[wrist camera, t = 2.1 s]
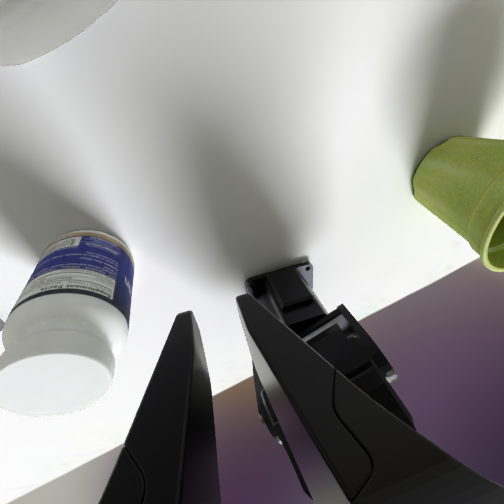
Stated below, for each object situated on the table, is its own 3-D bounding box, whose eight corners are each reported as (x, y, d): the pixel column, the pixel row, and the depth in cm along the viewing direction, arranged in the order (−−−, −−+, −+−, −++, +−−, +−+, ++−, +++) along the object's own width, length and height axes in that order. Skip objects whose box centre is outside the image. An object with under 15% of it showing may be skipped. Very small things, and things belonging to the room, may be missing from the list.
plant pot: (509, 127, 24) (649, 154, 17) (445, 222, 29) (536, 274, 22) (434, 100, 21) (572, 121, 14) (376, 213, 25) (457, 271, 19)
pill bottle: (124, 295, 23) (108, 421, 15) (40, 283, 20) (-34, 427, 12) (144, 238, 20) (137, 351, 12) (52, 215, 18) (-31, 341, 10)
